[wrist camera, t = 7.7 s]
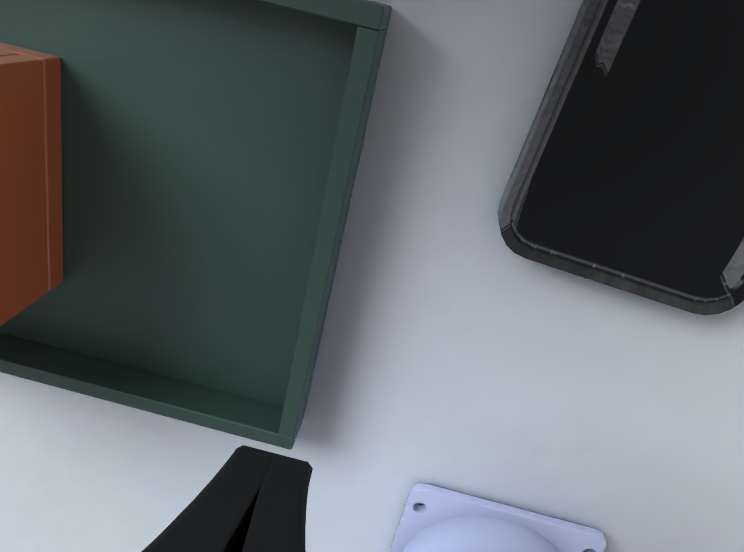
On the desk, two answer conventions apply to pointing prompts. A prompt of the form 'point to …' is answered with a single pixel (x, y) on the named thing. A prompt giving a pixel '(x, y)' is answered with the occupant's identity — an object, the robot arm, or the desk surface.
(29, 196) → the planter
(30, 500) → the desk surface
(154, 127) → the tray
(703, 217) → the phone
